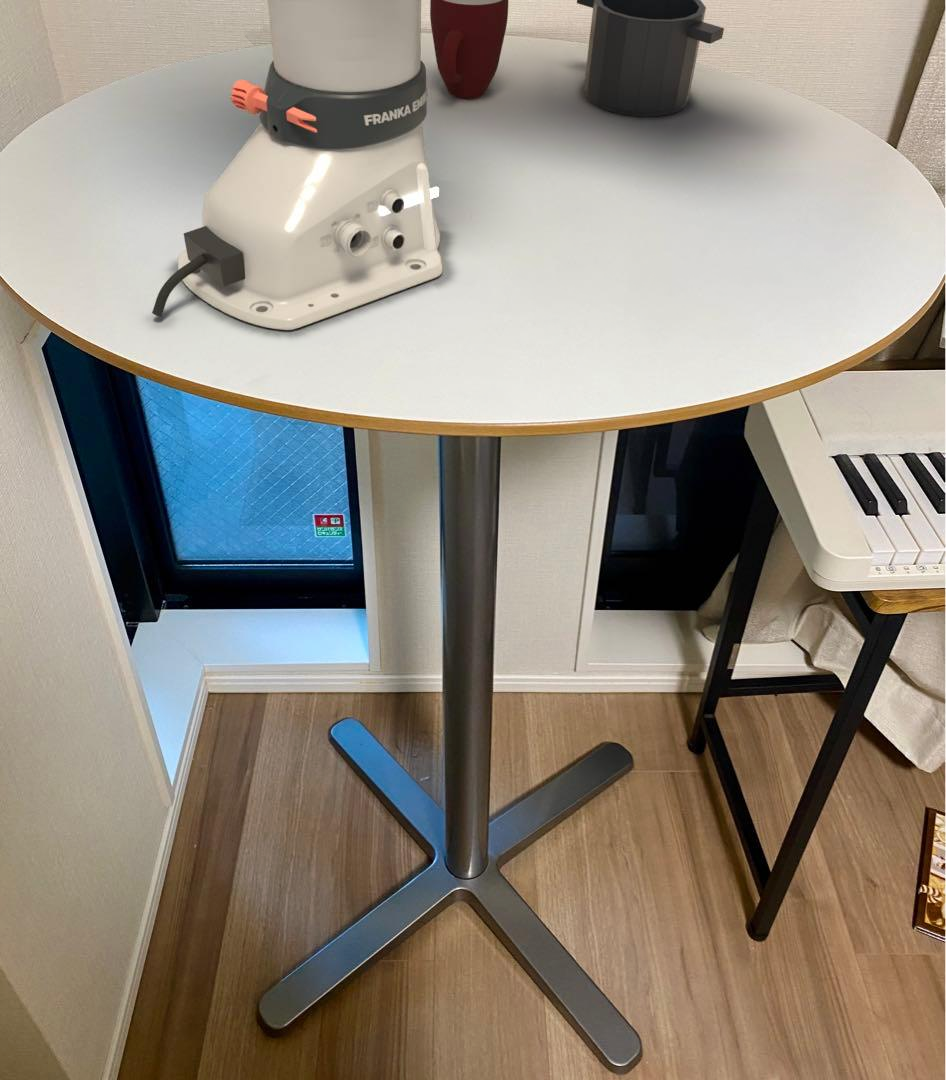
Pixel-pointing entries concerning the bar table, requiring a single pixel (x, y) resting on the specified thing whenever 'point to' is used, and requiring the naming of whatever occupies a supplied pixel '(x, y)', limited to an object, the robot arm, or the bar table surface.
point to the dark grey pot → (644, 54)
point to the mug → (468, 43)
